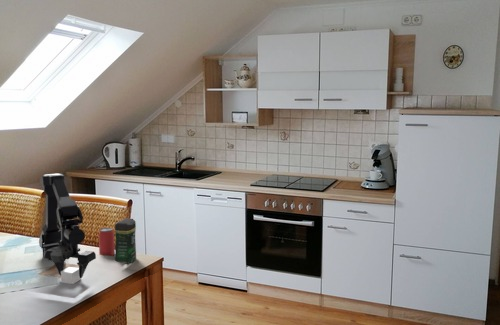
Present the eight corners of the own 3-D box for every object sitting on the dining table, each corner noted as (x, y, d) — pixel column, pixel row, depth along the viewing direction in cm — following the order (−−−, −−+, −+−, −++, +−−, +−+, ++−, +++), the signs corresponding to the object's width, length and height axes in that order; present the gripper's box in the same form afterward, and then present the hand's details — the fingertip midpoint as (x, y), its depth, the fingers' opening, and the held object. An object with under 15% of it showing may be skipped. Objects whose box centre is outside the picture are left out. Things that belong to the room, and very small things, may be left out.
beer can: (110, 258, 201) (109, 232, 199) (96, 256, 202) (95, 230, 200) (117, 253, 207) (116, 227, 206) (104, 251, 209) (103, 226, 207)
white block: (61, 286, 171) (60, 271, 170) (69, 280, 176) (69, 266, 175) (72, 287, 170) (72, 273, 169) (81, 282, 175) (80, 268, 174)
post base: (37, 277, 179) (37, 266, 178) (59, 265, 191) (59, 255, 190) (66, 281, 175) (65, 270, 175) (86, 269, 188) (86, 259, 187)
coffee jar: (130, 265, 193) (129, 223, 190) (112, 264, 194) (111, 222, 191) (138, 257, 202) (138, 217, 199) (121, 256, 203) (120, 216, 200)
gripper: (33, 241, 165) (35, 281, 167) (77, 246, 160) (79, 288, 162) (53, 232, 175) (55, 270, 178) (96, 237, 171) (97, 276, 173)
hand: (71, 276), depth 172 cm, fingers open, 8 cm apart
